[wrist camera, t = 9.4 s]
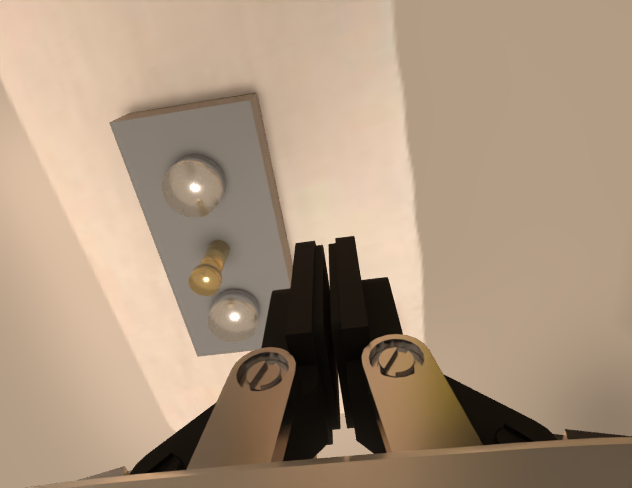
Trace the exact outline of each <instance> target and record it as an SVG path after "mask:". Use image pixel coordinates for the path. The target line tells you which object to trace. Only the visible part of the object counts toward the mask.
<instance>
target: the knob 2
mask: <svg viewBox="0 0 632 488" xmlns="http://www.w3.org/2000/svg"><path fill="white" fill-rule="evenodd" d="M259 311H260V308H259V304H258V302H257V300H256V299H255V298H254V297H253V296H252V295H251V294H249V293H248V292H246V291H243V290H238V289H230V290H226V291H224V292H222V293H220V294H219V295H218V296H217V297H216V298H215V300H214V303H213V306H212V308H211V311H210V313H209V316H208V327H209V329H210V331H211V332H212V333H213V334H214V335H215V336H216V337H217V338H219V339H221V340H223V341H227V342H234V343H235V342H242V341H245V340H247V339H249V338H250V337H251V336H252V335H253V334H254V332H255V330H256V326H257V321H258V317H259Z"/></svg>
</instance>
